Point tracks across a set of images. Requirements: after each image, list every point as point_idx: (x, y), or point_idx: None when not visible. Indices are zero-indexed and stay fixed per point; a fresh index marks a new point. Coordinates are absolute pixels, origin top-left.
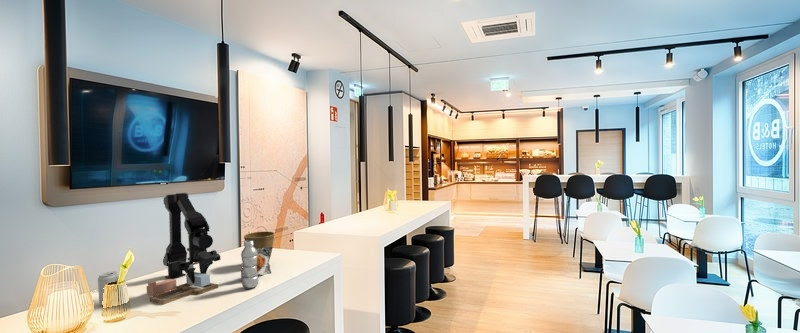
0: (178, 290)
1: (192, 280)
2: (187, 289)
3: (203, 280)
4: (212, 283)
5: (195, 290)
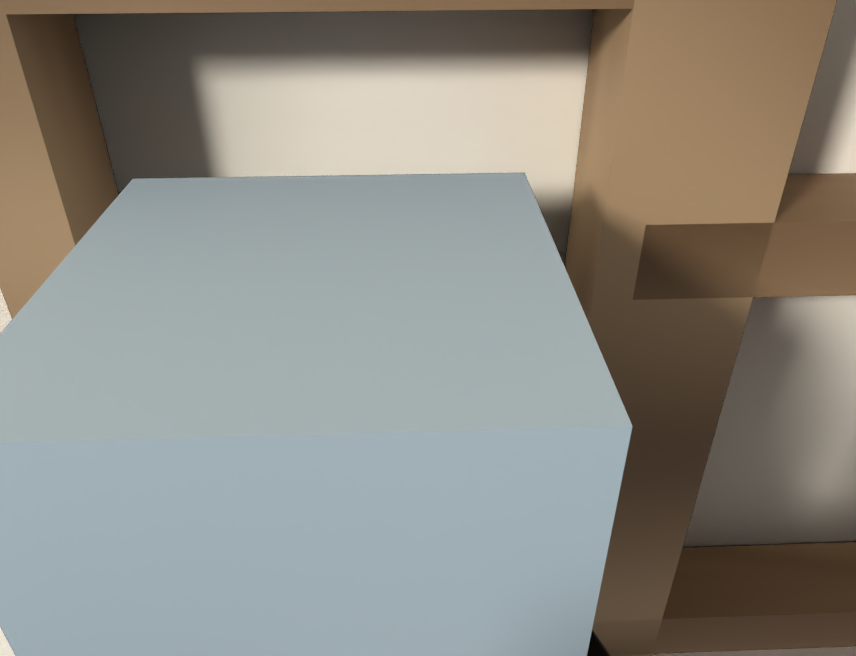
0: (742, 585)
1: (589, 652)
2: (698, 456)
3: (427, 294)
4: (11, 229)
5: (803, 105)
